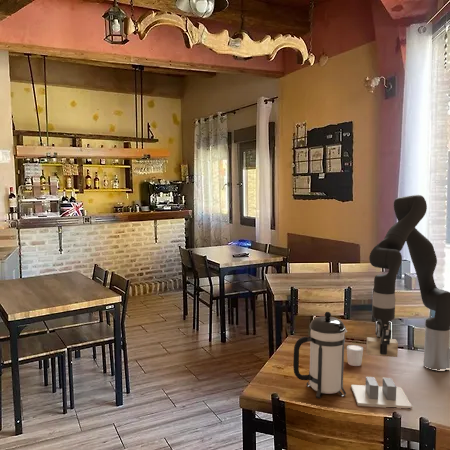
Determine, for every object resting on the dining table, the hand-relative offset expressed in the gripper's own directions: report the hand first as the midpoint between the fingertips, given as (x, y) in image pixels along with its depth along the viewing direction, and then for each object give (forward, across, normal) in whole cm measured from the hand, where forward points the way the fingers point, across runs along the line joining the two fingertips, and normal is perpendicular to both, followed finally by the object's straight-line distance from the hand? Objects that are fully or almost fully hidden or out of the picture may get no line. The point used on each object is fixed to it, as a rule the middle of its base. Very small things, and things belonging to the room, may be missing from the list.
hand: (381, 351), depth 157 cm
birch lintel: (+1, 0, 0) cm, 1 cm away
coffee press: (+17, +2, +20) cm, 27 cm away
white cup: (+17, +30, +4) cm, 35 cm away
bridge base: (+17, 0, 0) cm, 17 cm away
